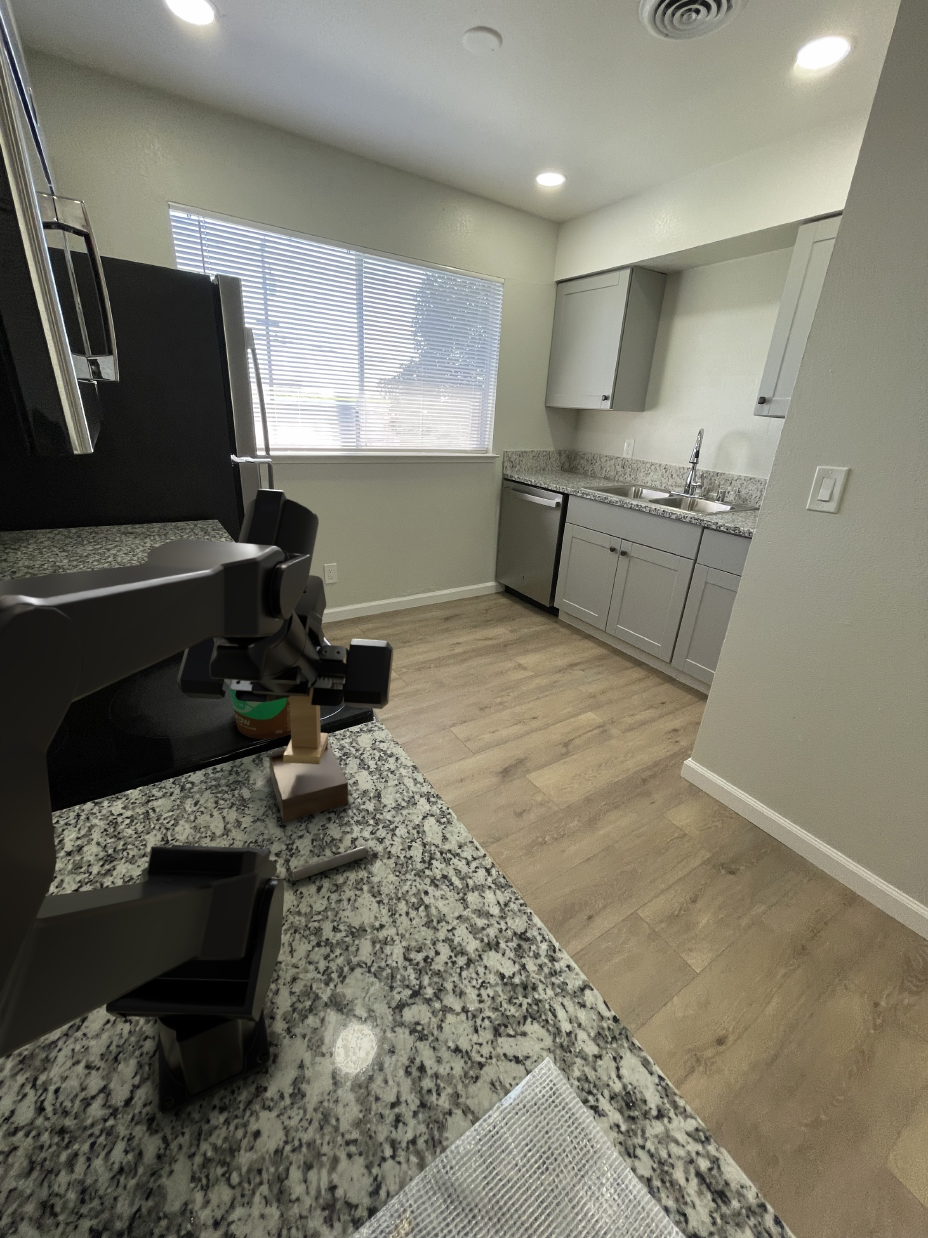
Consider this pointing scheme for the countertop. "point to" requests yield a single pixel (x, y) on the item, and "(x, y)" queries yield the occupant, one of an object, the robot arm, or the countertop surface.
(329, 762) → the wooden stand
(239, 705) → the food container
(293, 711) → the wooden post stand
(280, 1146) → the countertop surface
